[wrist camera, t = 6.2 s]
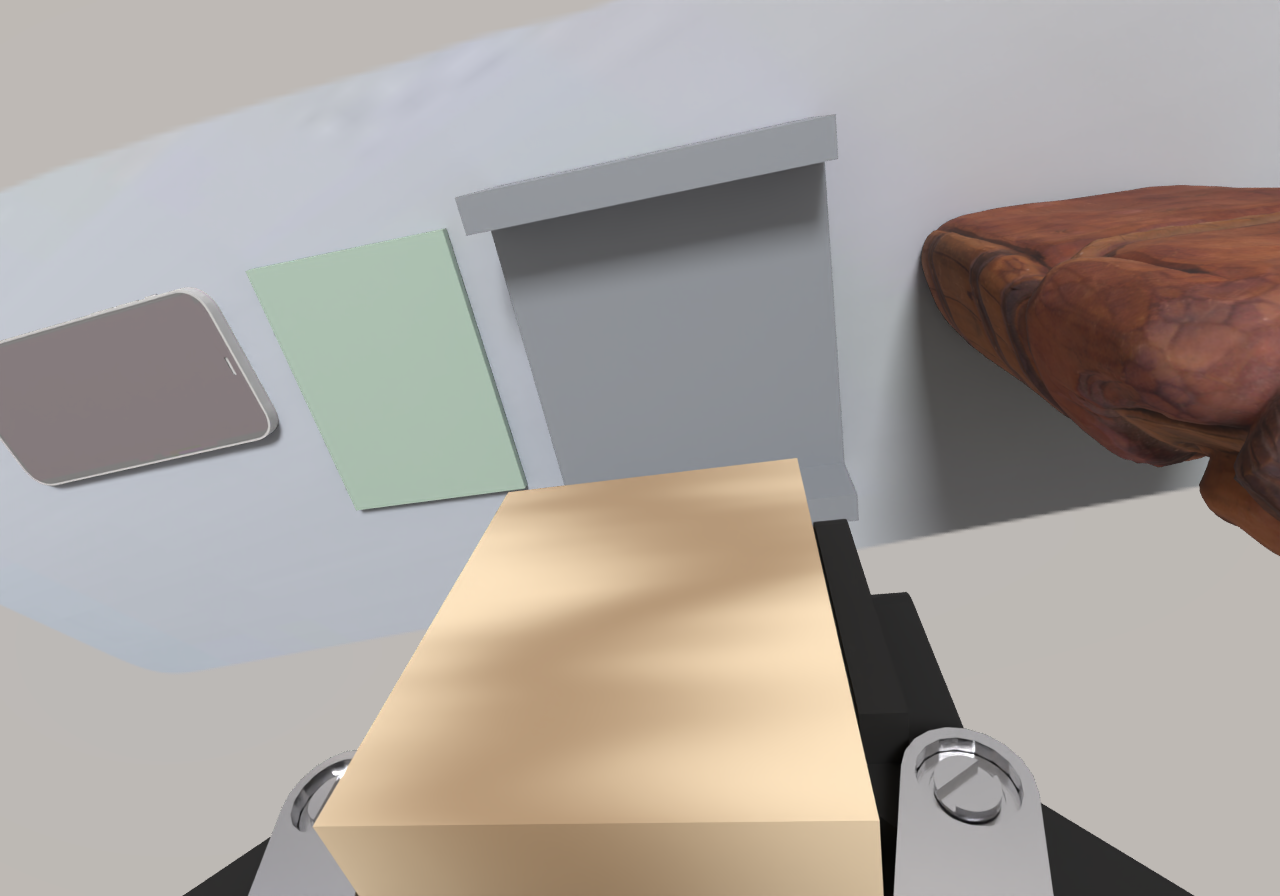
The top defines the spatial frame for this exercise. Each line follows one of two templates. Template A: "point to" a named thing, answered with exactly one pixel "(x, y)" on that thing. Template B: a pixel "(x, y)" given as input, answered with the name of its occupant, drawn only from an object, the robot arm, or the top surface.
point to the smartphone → (128, 389)
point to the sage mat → (393, 370)
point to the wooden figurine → (1137, 325)
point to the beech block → (622, 708)
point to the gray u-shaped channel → (682, 308)
